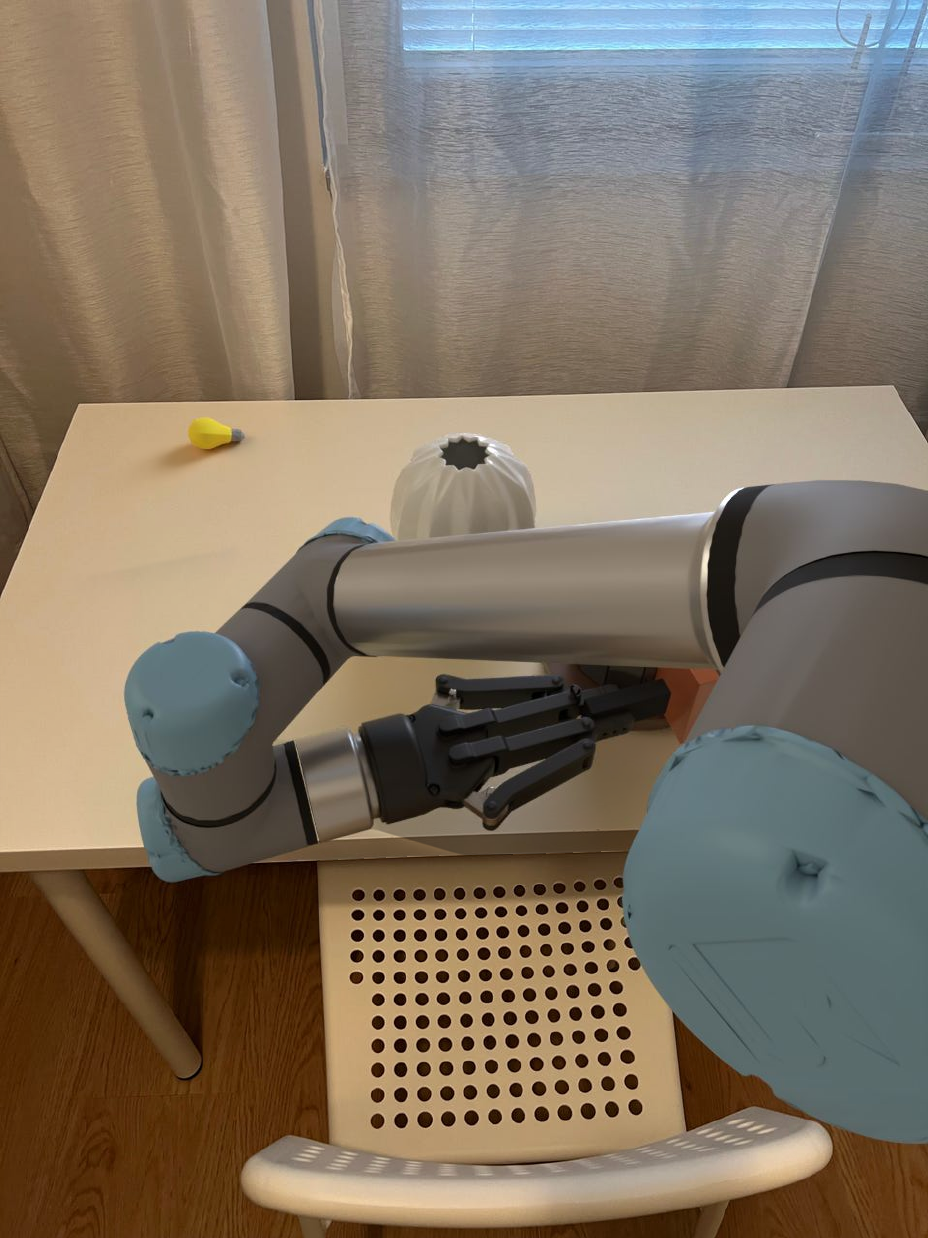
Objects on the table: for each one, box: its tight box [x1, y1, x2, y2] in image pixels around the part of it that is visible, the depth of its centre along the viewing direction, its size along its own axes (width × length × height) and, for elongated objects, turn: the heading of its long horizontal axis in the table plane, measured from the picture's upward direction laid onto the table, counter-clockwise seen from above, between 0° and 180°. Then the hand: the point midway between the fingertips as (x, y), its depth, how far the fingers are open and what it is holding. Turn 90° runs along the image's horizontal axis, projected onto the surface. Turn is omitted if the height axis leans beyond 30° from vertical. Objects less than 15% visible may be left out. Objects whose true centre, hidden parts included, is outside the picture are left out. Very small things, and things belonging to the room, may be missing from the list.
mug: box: [577, 664, 719, 745], centre depth 78 cm, size 12×15×10 cm
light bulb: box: [187, 416, 246, 450], centre depth 103 cm, size 3×6×4 cm, turn 106°
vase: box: [389, 432, 537, 541], centre depth 87 cm, size 14×14×13 cm
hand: (663, 696), depth 72 cm, fingers closed
